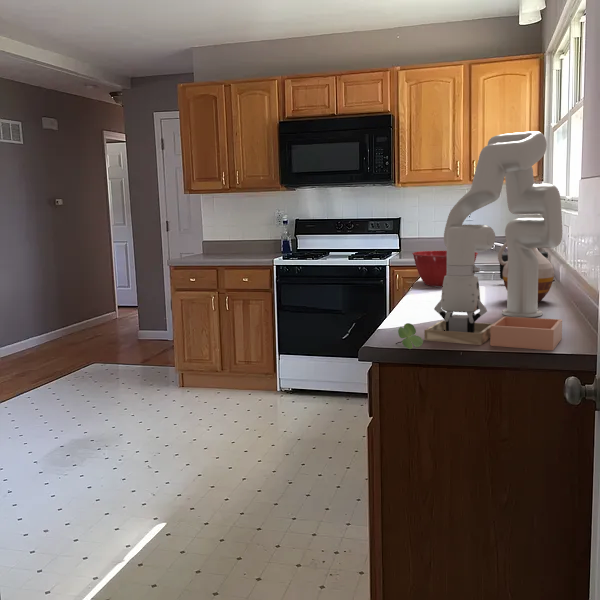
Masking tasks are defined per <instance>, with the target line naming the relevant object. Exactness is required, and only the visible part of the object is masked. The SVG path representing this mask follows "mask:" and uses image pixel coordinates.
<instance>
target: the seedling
mask: <svg viewBox="0 0 600 600" xmlns="http://www.w3.org/2000/svg"><path fill="white" fill-rule="evenodd" d="M397 331H398V332H397V333H398V334H397V335H398V336H399V338H401V339H402V340H401V341H399V342H396V343H395V345H398V344H401V343H402V345H403V347H405V348H407V349H409V350H411V349H413V348H414V347H416V348H419V347H421V346H422V345H423V343H424V339H422V337H421V336H419V335H417V334H416V333H417V330H416V327H415V326H414V325H413V324H412V323H405V324H404V325H403V327H402V326H400V327H398V329H397ZM413 345H414V347H413Z"/></svg>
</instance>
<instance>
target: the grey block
mask: <svg viewBox="0 0 600 600" xmlns="http://www.w3.org/2000/svg"><path fill="white" fill-rule="evenodd" d="M468 323H469V318H468V315H466V314H452V316H450V317H449V331H455V332H468Z"/></svg>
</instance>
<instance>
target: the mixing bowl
mask: <svg viewBox="0 0 600 600" xmlns="http://www.w3.org/2000/svg"><path fill="white" fill-rule="evenodd" d="M411 255H413V259H414V260H413V261H414V265H415V267H416V270H417V272H418V274H419V276H420V278H421V281H422V282H423V283H424V284H425V285H426V286H428V285H429V286H428V287H435V286H443V281H444V276H446V275H447V250H423V251H421V250H420V251H414V252H412V254H411ZM477 256H478V252H477V251H475V261H476V260H477Z"/></svg>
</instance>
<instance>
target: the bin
mask: <svg viewBox="0 0 600 600" xmlns="http://www.w3.org/2000/svg"><path fill="white" fill-rule="evenodd" d="M492 324H493V325H491V336H490V338H489V339H490V343H489V345H490V346H491V347H492V346H493V347H502V348H503V347H505V348H515V349H528V350H529V349H530V350H539V351H540V350H543V351H554V350H555V348H556V347H557V346H558V344H559V343H560V342H561V341H562V339H563V319H558V318H540V317H511V316H506V315H504V316H501V318H500V319H498V320H496V322H494V323H492Z"/></svg>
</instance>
